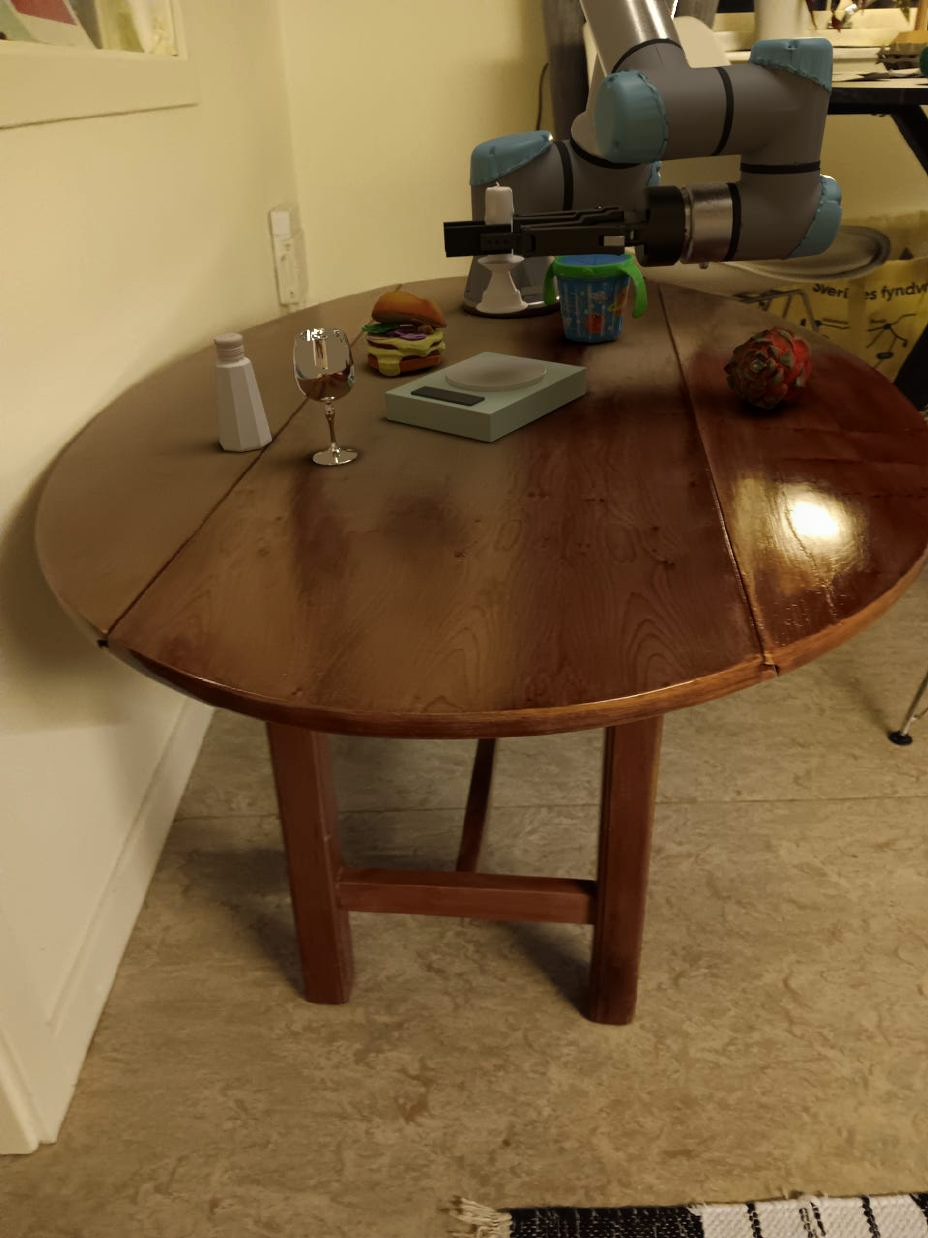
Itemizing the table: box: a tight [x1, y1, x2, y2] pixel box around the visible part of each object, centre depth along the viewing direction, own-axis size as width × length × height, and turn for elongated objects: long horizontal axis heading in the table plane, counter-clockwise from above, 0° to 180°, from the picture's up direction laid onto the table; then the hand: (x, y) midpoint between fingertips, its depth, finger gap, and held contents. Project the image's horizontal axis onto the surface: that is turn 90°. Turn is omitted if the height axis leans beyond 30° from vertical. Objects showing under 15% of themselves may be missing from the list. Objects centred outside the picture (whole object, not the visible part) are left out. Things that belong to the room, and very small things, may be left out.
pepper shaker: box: [213, 332, 273, 453], centre depth 96 cm, size 5×5×11 cm
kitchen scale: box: [384, 351, 587, 443], centre depth 104 cm, size 18×14×4 cm
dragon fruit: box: [723, 325, 813, 410], centre depth 100 cm, size 8×8×12 cm
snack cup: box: [542, 252, 648, 344], centre depth 125 cm, size 16×10×10 cm
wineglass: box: [292, 327, 359, 466], centre depth 91 cm, size 6×6×12 cm
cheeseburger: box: [361, 290, 449, 377], centre depth 119 cm, size 10×11×10 cm
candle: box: [476, 182, 528, 313], centre depth 96 cm, size 5×5×12 cm
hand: (445, 239), depth 95 cm, fingers closed on candle, 2 cm apart
